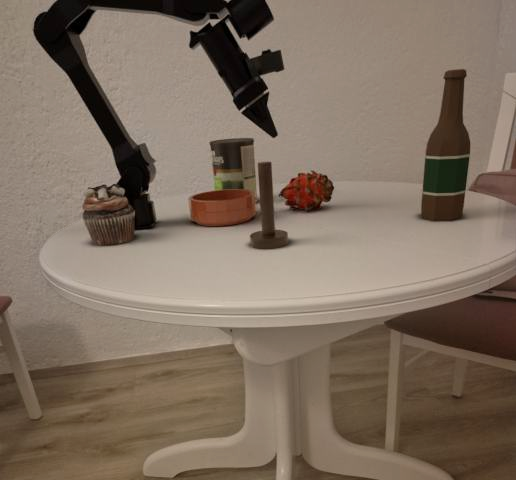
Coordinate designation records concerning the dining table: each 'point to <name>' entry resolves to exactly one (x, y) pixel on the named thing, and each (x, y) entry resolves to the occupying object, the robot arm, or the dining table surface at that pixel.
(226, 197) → the bowl
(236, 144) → the coffee can
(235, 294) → the dining table surface
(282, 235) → the wooden peg on disc
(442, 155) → the beer bottle
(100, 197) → the cupcake
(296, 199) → the dragon fruit
